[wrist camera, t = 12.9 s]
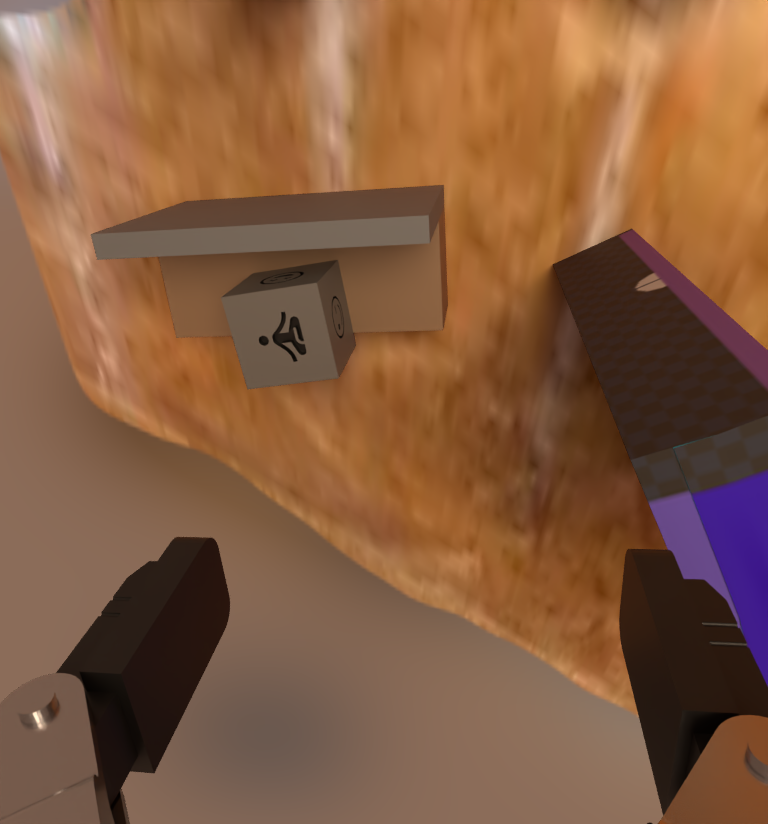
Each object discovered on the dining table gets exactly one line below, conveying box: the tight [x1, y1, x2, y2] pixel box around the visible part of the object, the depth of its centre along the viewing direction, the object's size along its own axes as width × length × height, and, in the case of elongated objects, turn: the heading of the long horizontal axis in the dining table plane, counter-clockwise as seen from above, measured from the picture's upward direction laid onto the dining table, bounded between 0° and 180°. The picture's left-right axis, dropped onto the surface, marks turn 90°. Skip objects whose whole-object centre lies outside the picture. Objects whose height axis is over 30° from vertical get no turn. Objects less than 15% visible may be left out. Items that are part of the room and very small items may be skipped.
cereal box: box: [553, 229, 768, 686], centre depth 31 cm, size 17×5×24 cm, turn 28°
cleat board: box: [91, 185, 448, 338], centre depth 36 cm, size 16×7×11 cm, turn 95°
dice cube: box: [221, 260, 356, 389], centre depth 35 cm, size 5×5×5 cm
